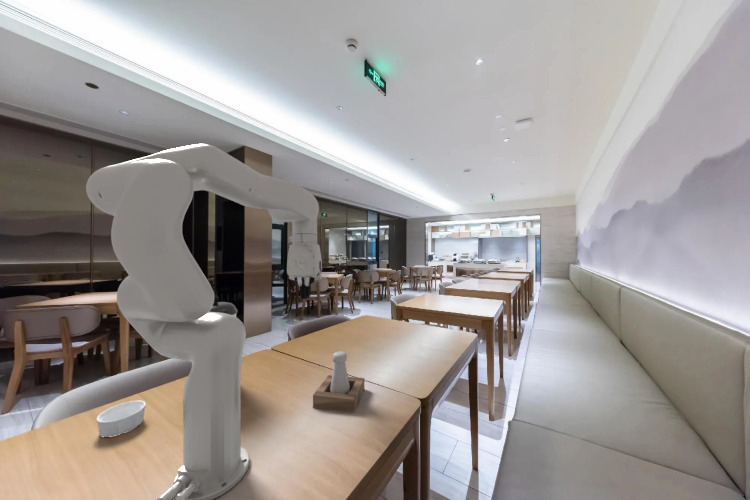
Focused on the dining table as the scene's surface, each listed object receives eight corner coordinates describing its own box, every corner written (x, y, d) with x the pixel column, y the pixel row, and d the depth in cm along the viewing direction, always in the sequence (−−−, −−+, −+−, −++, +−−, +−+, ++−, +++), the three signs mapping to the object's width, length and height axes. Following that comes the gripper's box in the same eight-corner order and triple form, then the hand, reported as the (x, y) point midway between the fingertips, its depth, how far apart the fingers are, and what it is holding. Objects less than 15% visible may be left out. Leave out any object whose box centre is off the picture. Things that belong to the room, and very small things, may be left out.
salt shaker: (351, 391, 80) (351, 349, 80) (347, 402, 74) (347, 356, 74) (333, 390, 80) (332, 348, 80) (327, 401, 75) (327, 356, 75)
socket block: (354, 412, 70) (354, 399, 70) (313, 407, 72) (312, 395, 73) (364, 389, 82) (364, 378, 82) (328, 385, 84) (328, 375, 84)
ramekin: (151, 423, 67) (151, 406, 67) (102, 445, 59) (102, 426, 59) (138, 412, 71) (138, 396, 71) (91, 431, 64) (91, 414, 64)
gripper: (276, 240, 80) (277, 299, 79) (322, 239, 77) (323, 301, 77) (289, 241, 87) (289, 295, 87) (331, 240, 84) (332, 296, 84)
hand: (305, 298), depth 82 cm, fingers closed
